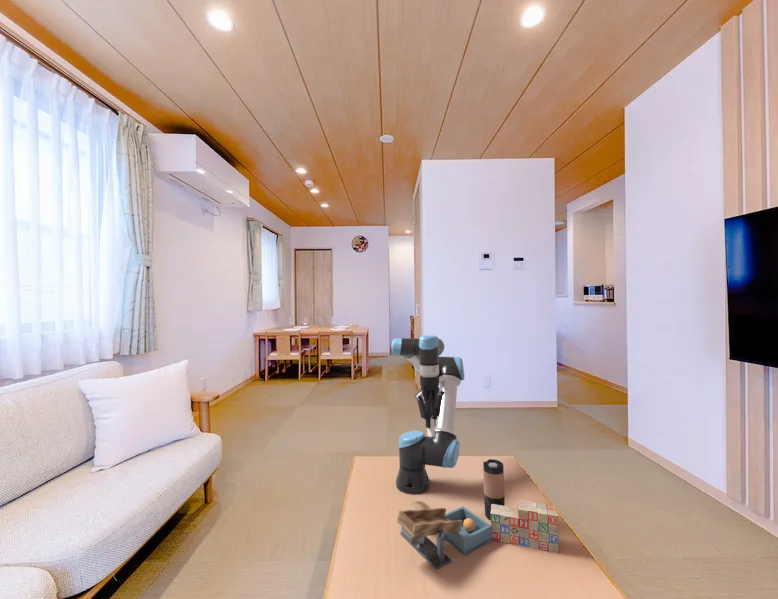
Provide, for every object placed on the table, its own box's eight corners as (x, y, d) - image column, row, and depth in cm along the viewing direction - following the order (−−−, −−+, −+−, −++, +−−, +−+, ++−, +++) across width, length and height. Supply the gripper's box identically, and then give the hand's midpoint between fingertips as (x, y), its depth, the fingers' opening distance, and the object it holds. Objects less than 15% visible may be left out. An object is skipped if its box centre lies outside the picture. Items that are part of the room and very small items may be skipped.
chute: (411, 548, 103) (415, 525, 104) (379, 515, 120) (382, 495, 121) (459, 541, 113) (462, 521, 114) (423, 512, 130) (426, 494, 131)
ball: (459, 523, 122) (465, 513, 123) (464, 530, 123) (470, 520, 125) (467, 529, 118) (473, 519, 120) (472, 536, 120) (478, 526, 121)
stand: (436, 570, 105) (435, 537, 105) (410, 544, 117) (409, 514, 117) (451, 562, 108) (450, 530, 108) (424, 537, 120) (423, 508, 120)
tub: (464, 555, 111) (463, 540, 111) (436, 531, 123) (436, 517, 123) (492, 540, 118) (491, 525, 118) (463, 519, 129) (463, 506, 130)
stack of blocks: (490, 540, 118) (489, 504, 118) (491, 529, 124) (490, 494, 124) (559, 554, 111) (558, 515, 111) (557, 541, 117) (555, 505, 117)
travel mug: (506, 523, 127) (504, 468, 127) (485, 521, 128) (483, 467, 129) (503, 511, 134) (502, 459, 135) (483, 509, 136) (482, 458, 136)
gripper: (421, 379, 128) (423, 442, 127) (448, 374, 135) (450, 435, 134) (410, 375, 134) (411, 436, 134) (436, 371, 141) (437, 429, 140)
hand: (431, 435), depth 134 cm, fingers closed
